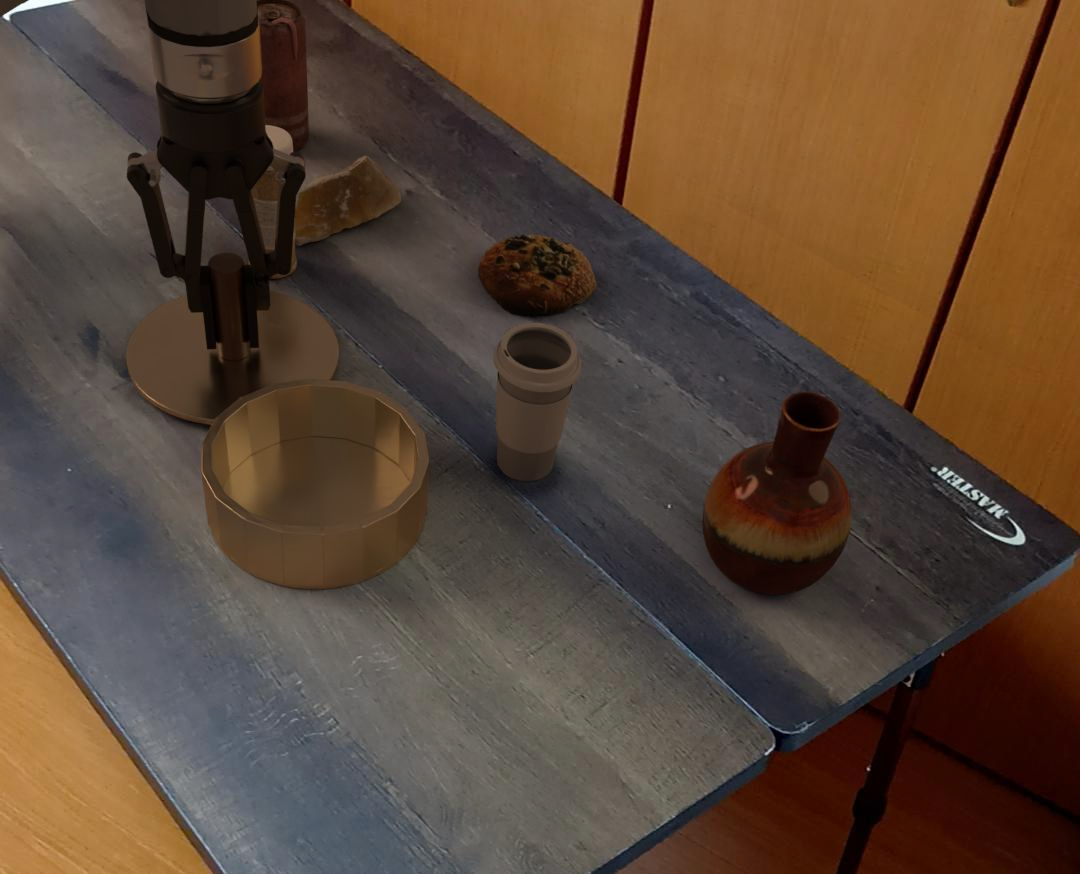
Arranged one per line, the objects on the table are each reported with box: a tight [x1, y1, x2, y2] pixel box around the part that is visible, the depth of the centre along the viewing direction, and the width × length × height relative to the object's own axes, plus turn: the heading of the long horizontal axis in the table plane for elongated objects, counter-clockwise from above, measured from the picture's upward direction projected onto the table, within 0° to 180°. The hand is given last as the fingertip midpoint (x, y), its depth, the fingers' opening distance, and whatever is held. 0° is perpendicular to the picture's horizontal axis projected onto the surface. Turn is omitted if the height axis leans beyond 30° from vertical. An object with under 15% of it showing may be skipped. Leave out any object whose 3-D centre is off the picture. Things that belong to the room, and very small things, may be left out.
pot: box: [200, 379, 430, 590], centre depth 100 cm, size 17×17×6 cm
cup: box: [492, 322, 582, 482], centre depth 104 cm, size 7×7×12 cm
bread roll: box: [477, 233, 597, 316], centre depth 124 cm, size 11×11×5 cm
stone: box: [295, 155, 402, 247], centre depth 127 cm, size 7×6×15 cm
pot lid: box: [125, 252, 340, 426], centre depth 109 cm, size 18×18×10 cm
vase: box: [702, 391, 853, 596], centre depth 98 cm, size 11×11×15 cm
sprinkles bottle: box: [247, 125, 298, 280], centre depth 118 cm, size 5×5×14 cm
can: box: [256, 0, 310, 152], centre depth 132 cm, size 6×6×14 cm
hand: (232, 338), depth 111 cm, fingers closed on pot lid, 3 cm apart
